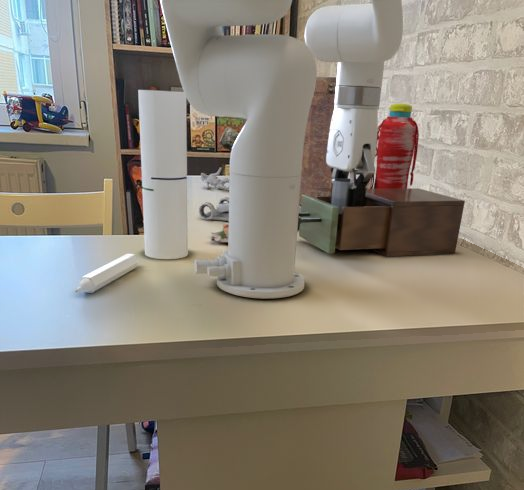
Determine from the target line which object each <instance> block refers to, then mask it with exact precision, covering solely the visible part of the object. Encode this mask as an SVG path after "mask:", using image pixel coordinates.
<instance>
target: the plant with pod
mask: <svg viewBox="0 0 524 490" xmlns="http://www.w3.org/2000/svg"><path fill="white" fill-rule="evenodd" d="M239 133H240V132H238V131H237V130H235V129H233V128H232V127H230V126H227V127H226V128H225V129H224V131H223V133H222V134H221V136H220V138H219V141H218V142H219V143H220V145H219V146H218V148H217V149H216V150H217V152H220V151H221V149H224V150H225V149H227V150H229V151H230V152H231V151H232V147H233V145H234V142H235V140H236V138H237V137H238V135H239ZM222 228H223V229H222V230H219V231H216V232H211V233H210V234H211V241H213V242H217V243H228V236H229V223H223V225H222Z"/></svg>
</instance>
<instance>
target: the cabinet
mask: <svg viewBox="0 0 524 490" xmlns="http://www.w3.org/2000/svg"><path fill="white" fill-rule="evenodd" d="M365 197H368V198H371V199H374V200H376V201H379V202H382V203H385V204H388V205H391V211H390V219H389V226H388V233H387V241H386V248H378V249H371V250H372V251H374V252H377V253H378V254H381V255H383V256H385V257H386V258H387V257H388V258H390V257H407V256H427V255H430V256H431V255H450V254H451V255H452V254H456V251H457V246H458V239H459V234H460V229H461V224H462V219H463V213H464V210H465V209H464V208H465V203H466V201H465V200H464V199H459V198H456V197H452V196H448V195H444V194H441V193H437V192H433V191H430V190H428V189H427V190H426V189H423V188H417V187H415V188H414V187H413V188H407V189H366V194H365Z"/></svg>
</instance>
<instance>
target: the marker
mask: <svg viewBox="0 0 524 490" xmlns="http://www.w3.org/2000/svg"><path fill="white" fill-rule="evenodd" d="M139 262H140V260H139V258H138V257H137V255H136V254H133V253H126V254H123V255H122V256H119V257H118V258H115V259H114V260H112V261H110V262H108V263H106V264H104V265H102V266H100V267H99V268H96V269H94V270H92V271H90V272H89V273H87V274H85V275H83V276H81V278H80V280H79V282H78V286H77V288H76V289H75V291H74V293H82V292H83V293H88V294H93V293H94V292H96V291H98V290H100V289H102V288H103V287H105V286H107V285H108V284H110V283H112V282H114V281H116V280H117V279H119V278H121V277H122V276H124V275H126V274H128V273H130V272H131V271H133V270H134V269H136V268H137V266H138V264H139Z"/></svg>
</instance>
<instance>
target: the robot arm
mask: <svg viewBox="0 0 524 490" xmlns="http://www.w3.org/2000/svg"><path fill="white" fill-rule="evenodd" d="M159 2H160V7H161V11H162V15H163V19H164V23H165V26H166V31H167V35H168V39H169V43H170V46H171V51H172V54H173V55H172V56H173V57H174V62H175V66H176V70H177V73H178V77H179V82H180V84H181V88H182V90H183V91H182V92H184V93H185V96H186V101H187V102H188V103H189V104H190V106H191V107H192V108H193V109H194V110H195V111H197V113H200V114H201V115H202V114H203V115H205V116H212V117H222V118H236V119H237V118H238V119H247V121H246V123H245V125H244V127H243V126H242V128H241V130H240V132H238V133H239V135H238V137H237V138H236V140H235V142H234V145H233V147H232V151H230V155H229V179H230V183H228V185H229V186H228V187H229V190H228V198H229V221H228V224H229V236H228V242H227V243H228V244H227V245H228V246H227V250H222V251H221V252H222V253H221V256H216V258H215V259H207V258H206V259H194V262H193V269H194V270H193V271H194V273H195V275H199V274H200V275H201V274H207V277H208V278H211V277H216V285H217V287H218V288H219V289H220V290H222V291H224V292H226V293H228V294H231V295H234V296H237V297H243V298H251V299H263V300H265V299H267V300H268V299H270V300H271V299H282V298H289V297H291V296H295V295H298V294H299V293H301V292H302V291H303V290H304V289H305V283H306V282H305V278H304V277H303V276H302V275H301V274H299V273H297V272H295V270H296V258H297V257H296V256H297V255H296V254H297V244H298V243H297V242H298V229H299V225H298V215H299V207H300V206H299V200H300V186H301V170H302V157H303V146H304V138H305V131H306V125H307V119H308V115H309V110H310V106H311V102H312V98H313V94H314V89H315V84H316V77H317V63H316V60H318V61H320V62H324V63H337V69H336V77H337V79H336V91H335V103H334V112H333V116H332V120H331V126H330V132H329V139H328V147H327V156H326V163H327V165H328V166H330V167H331V173H332V177H331V182H332V187H333V179H337V178H350V184H351V189H348V196H347V206H346V207H364V203H365V194H366V189H367V188H368V183H369V181H370V179H371V177H372V176H373V174H374V175H375V174H376V167H375V162H374V161H376V157H375V155H376V145H377V146H378V140H377V128H378V126H379V124H378V123H379V121H378V120H379V115H378V114H379V113H378V111H379V110H380V103H381V96H382V87H383V78H384V71H385V70H384V69H385V62H386V61H387V62H388V61H390V60H391V59H392V58H393V57H395V56H396V54H397V52H398V51H399V49H400V48H401V47H400V46H401V43H402V39H403V33H404V15H403V3H402V0H370V3H351V4H350V3H349V4H337V5H336V4H335V5H334V4H333V5H326V6H322V7H319V8H317V9H315V11H313V12H312V13H311V15H310V16H309V17H308V19H307V21H306V24H305V28H304V41H302V40H300V39H298V38H296V37H293V36H290V35H287V34H276V33H274V34H273V33H271V34H270V33H269V34H267V33H266V34H265V33H264V34H262V33H261V34H260V33H259V34H257V33H256V34H252V33H251V34H235V35H232V34H230V35H229V34H228V35H225V34H224V30H223V27H244V26H245V27H246V26H247V27H248V26H260V25H267V24H268V25H269V24H272V23H275V22H278V21H279V20H281V19H282V18H283V17H285V16H287V13H288V12H289V10H290V9H291V6H292V3H293V0H159ZM343 171H344V172H343ZM357 175H358V176H357ZM372 178H373V177H372ZM356 179H357V180H356ZM332 187H331V198H332ZM331 198H330V204H331Z"/></svg>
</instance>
